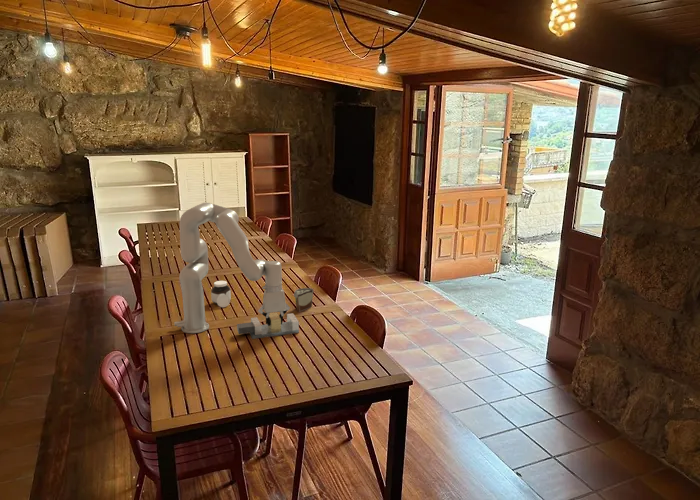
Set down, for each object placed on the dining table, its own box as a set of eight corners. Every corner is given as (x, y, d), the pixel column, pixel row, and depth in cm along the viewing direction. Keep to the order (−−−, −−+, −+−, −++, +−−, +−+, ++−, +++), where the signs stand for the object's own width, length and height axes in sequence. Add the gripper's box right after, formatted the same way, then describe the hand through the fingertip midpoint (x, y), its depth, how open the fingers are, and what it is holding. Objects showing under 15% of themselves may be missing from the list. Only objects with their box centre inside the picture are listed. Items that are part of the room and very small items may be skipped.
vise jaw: (239, 336, 224) (239, 328, 223) (236, 327, 234) (235, 319, 233) (261, 334, 227) (261, 325, 226) (257, 324, 237) (257, 317, 236)
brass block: (271, 331, 230) (271, 319, 229) (268, 325, 238) (267, 313, 236) (281, 330, 232) (280, 318, 230) (277, 324, 239) (277, 312, 238)
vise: (252, 339, 226) (251, 327, 225) (248, 329, 236) (247, 318, 235) (298, 332, 234) (298, 321, 232) (293, 323, 244) (293, 313, 242)
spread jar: (223, 298, 276) (222, 278, 273) (238, 302, 271) (237, 282, 268) (206, 305, 266) (205, 284, 263) (222, 309, 261) (221, 288, 258)
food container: (305, 303, 271) (305, 286, 268) (313, 306, 267) (313, 288, 265) (289, 309, 262) (288, 291, 259) (297, 312, 258) (297, 294, 255)
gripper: (256, 292, 223) (257, 329, 228) (293, 288, 229) (294, 324, 234) (253, 287, 230) (255, 323, 235) (289, 283, 236) (290, 319, 240)
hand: (274, 323), depth 234 cm, fingers open, 5 cm apart
